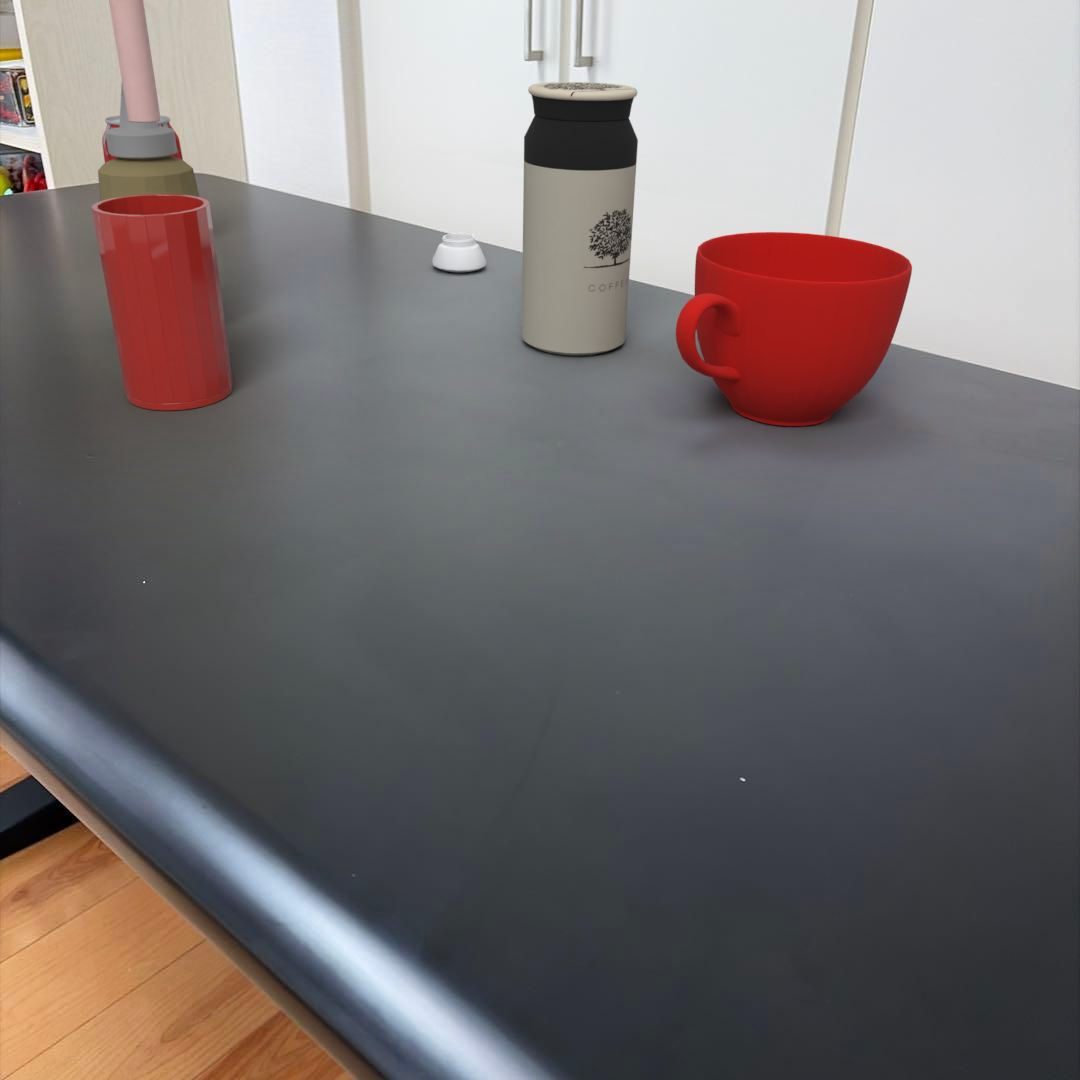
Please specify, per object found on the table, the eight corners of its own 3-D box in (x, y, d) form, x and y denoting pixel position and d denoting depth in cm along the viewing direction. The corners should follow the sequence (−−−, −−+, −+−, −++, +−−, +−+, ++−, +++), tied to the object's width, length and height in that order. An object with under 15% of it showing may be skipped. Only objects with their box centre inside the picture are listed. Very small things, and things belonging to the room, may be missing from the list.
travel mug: (504, 332, 80) (505, 82, 72) (592, 321, 84) (603, 80, 75) (551, 364, 74) (559, 94, 66) (644, 349, 78) (663, 91, 69)
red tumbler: (112, 410, 65) (75, 215, 59) (142, 374, 71) (111, 193, 65) (221, 410, 65) (194, 216, 59) (241, 374, 71) (219, 194, 65)
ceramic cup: (598, 413, 66) (606, 257, 61) (766, 362, 76) (784, 223, 71) (755, 483, 57) (779, 307, 53) (922, 415, 67) (955, 261, 62)
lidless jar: (426, 272, 96) (478, 276, 95) (425, 240, 94) (478, 244, 94) (440, 260, 100) (490, 263, 100) (440, 229, 99) (490, 232, 98)
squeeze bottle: (111, 346, 75) (61, 79, 67) (118, 315, 82) (74, 69, 74) (225, 339, 78) (191, 79, 69) (223, 309, 84) (192, 69, 76)
